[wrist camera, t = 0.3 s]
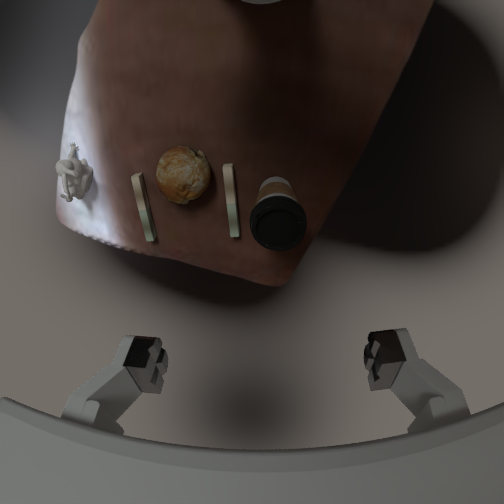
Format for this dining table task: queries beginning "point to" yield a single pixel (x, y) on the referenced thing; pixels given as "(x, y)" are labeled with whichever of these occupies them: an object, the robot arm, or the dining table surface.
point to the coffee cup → (277, 216)
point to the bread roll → (182, 174)
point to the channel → (146, 212)
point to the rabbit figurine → (74, 175)
